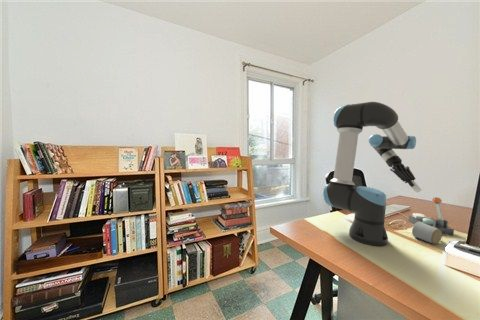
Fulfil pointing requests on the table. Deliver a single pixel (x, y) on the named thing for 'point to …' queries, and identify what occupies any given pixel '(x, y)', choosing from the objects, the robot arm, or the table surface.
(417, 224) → the grey cylinder
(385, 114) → the robot arm
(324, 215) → the table surface
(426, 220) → the push button
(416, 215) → the rocker
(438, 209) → the toggle lever
